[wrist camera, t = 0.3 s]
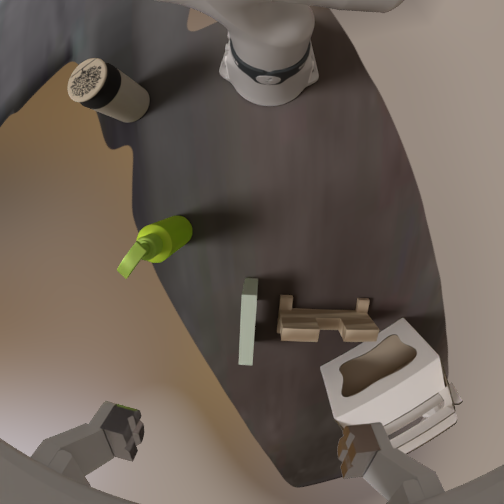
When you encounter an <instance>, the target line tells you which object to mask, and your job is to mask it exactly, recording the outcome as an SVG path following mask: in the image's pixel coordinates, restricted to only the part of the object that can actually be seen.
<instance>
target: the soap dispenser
mask: <svg viewBox="0 0 504 504" xmlns="http://www.w3.org/2000/svg"><path fill="white" fill-rule="evenodd" d="M191 237H192V226H191V224H190V222H189V221H188V220H187V219H186V218H185V217H182V216H173V217H170V218H167V219H164V220H161V221H159V222H156V223H153V224H150V225H148V226H145V227H144V228H143V229H142V230H141V231H140V232H139V234H138V236H137V241H136V243H135V244H134V245H133V247H132V248H131V249H130V250H129V252H128V253H127V255H126V256H125V257H124V259H123V261H122V262H121V264H120V265H119V267H118V269H117V271H118V272H119V273H120V274H121V275H122V276H123V277H125V278H126V279H127V278H128V277H129V275H130V274H131V272H132V271H133V270H134V268H135V267H136V265H137V264H138V263H139V261H140V260H141V259H142V260H147V261H149V262H152V263H159V262H162V261H164V260H165V259H167V258H168V257H169V256H171V255H172V254H173V253H174V252H176V251H177V250H178V249H180V248H181V247H182V246H184V245H185V244H186V243H187V242H188V241H189V240H190V239H191Z"/></svg>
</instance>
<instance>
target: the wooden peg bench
mask: <svg viewBox="0 0 504 504" xmlns="http://www.w3.org/2000/svg"><path fill="white" fill-rule="evenodd" d="M369 302H370V300H369V299H368V298H357V303H356V309H355V310H328V309H301V308H292V303H293V295H280V304H279V314H278V324H277V333H281V341H306V342H318V337H319V331H320V330H339V332H340V334H341V336H342V338H343V341H344V342H375V341H377V337H378V333H379V329H378V327H377V326H376V325H375V323H374V322H373V321H372V319H371V318H370V317H369V315H368V314H367V312H368V307H369Z"/></svg>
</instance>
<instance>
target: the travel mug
mask: <svg viewBox="0 0 504 504" xmlns="http://www.w3.org/2000/svg"><path fill="white" fill-rule="evenodd" d="M68 93H69V96H70V98H71V99H72V100H74V101H76V102H80V103H81V104H82V105H83V106H85V107H88V108H90V109H93V110H95V111H98V112H100V113H103V114H106V115H108V116H111V117H113V118H116V119H118V120H120V121H123V122H134V121H136V120H138V119H140V118H141V117H142V116H143V115H144V114H145V112H146V111H147V109H148V106H149V102H150V98H149V94H148V92H147V91H146V90H145V89H144V88H143V87H141V86H140V85H139V84H137V83H136V82H135V81H133V80H132V79H130V78H129V77H128V76H126V75H125V74H124V73H122V72H121V71H119V70H118V69H117V68H115V67H114V66H113V65H111V64H109V63H105V62H104V61H103V60H101V59H99V58H91V59H88V60H86V61H84V62H82V63H81V64H80V65H79V66H78V67H77V68H76V69H75V70H74V71H73V73H72V75H71V77H70V79H69V83H68Z"/></svg>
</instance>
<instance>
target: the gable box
mask: <svg viewBox="0 0 504 504" xmlns="http://www.w3.org/2000/svg"><path fill="white" fill-rule="evenodd" d="M320 369H321V372H322V376H323V379H324V383H325V386H326V390H327V394H328V397H329V401H330V405H331V409H332V412H333V416H334V420H335V421H336V422H337V424H338V425H339V426H340V428H341V429H342V430H343V429H344V427H345V426H347V425H358V424H367V423H368V424H369V423H376V422H381V423H382V424H383V427H384V429H385V431H386V433H387V436H388V435H389V434H391V433H393V432H395V431H397V430H398V429H400V428H402V427H404V426H405V425H407V424H409V423H411V422H412V421H414V420H415V419H417V418H419V417H420V416H422V415H423V414H425V413H427V412H428V411H430V410H431V409H433V408H434V407H436V406H437V405H439V404H440V403H441V402H443V401H444V402H445V404H444V407H443V408H441V409H440V410H439V411H438V412H436V413H435V414H433V415H432V416H430V417H428V418H427V419H425V420H424V421H422V422H421V423H419V424H417V425H416V426H414V427H412V428H411V429H409V430H407V431H406V432H404V433H402V434H400V435H399V436H397V437H395V438H393V439H391V440H390V442H391V445H392V447H393V448H397V449H399V450H400V451H402V452H403V453H405V454H408V453H410V452H412V451H414V450H415V449H417V448H419V447H421V446H422V445H424V444H425V443H427V442H429V441H431V440H432V439H434V438H435V437H437V436H438V435H440V434H441V433H443V432H444V431H446V430H447V429H449V428H450V427H452V426H453V425H455V424H456V422H457V416H456V413H455V406H454V405H459V404H461V403H462V402H463V400H462V399H461V397H460V395H459V394H458V392H457V390H456V389H455V387H454V386H453V384H452V383H451V384H449V383H448V380H447V377H446V373H445V370H444V367H443V364H442V361H441V358H440V356H439V355H438V354H437V353H436V352H435V350H434V349H433V348H432V347H431V346H430V345H429V344H428V343H427V342H426V341H425V340H424V339H423V338H422V336H421V335H420V334H419V333H418V332H417V331H416V330H415V329H414V328H413V327H412V326H411V325H410V324H409V323H408V322H407V321H406V320H405V319H404V318H401V319H400V320H398V321H397V322H395V323H394V324H392V325H391V326H389V327H387V328H386V329H384V330H383V331H381V332H380V333H378V337H377V341H375V342H363V343H362V344H360V345H358V346H357V347H355V348H353V349H351V350H350V351H348V352H346V353H344V354H343V355H341V356H339V357H337V358H335V359H334V360H332V361H330V362H328V363H326V364H324V365H322V366H321V367H320Z"/></svg>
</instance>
